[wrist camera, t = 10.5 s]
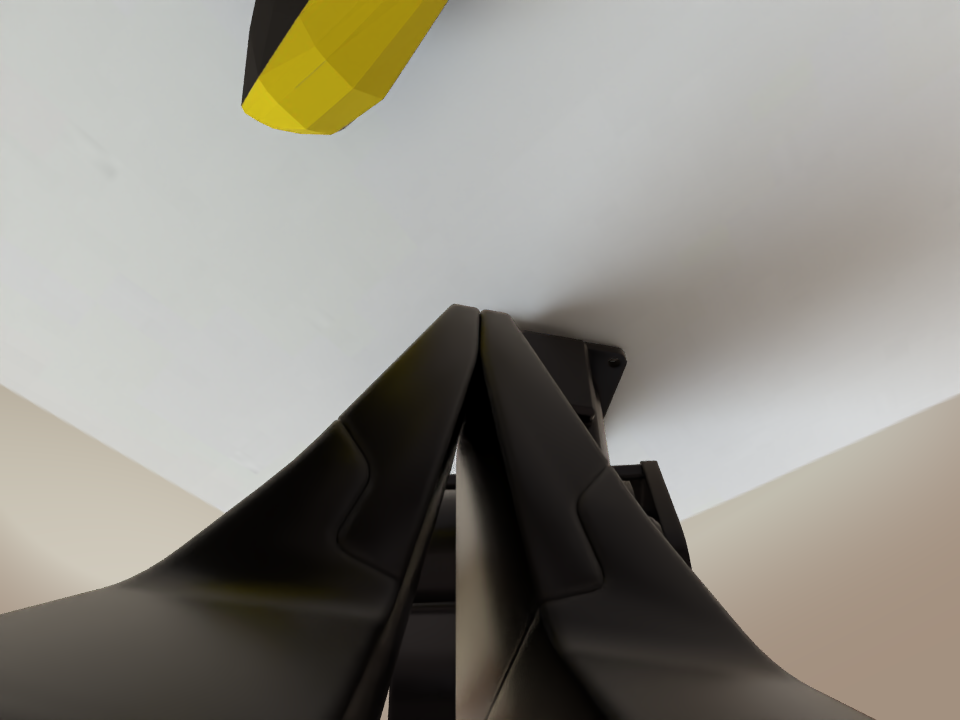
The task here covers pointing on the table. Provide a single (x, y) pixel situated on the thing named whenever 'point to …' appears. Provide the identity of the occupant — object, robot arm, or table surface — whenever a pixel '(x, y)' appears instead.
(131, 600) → the robot arm
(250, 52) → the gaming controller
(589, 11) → the table surface
